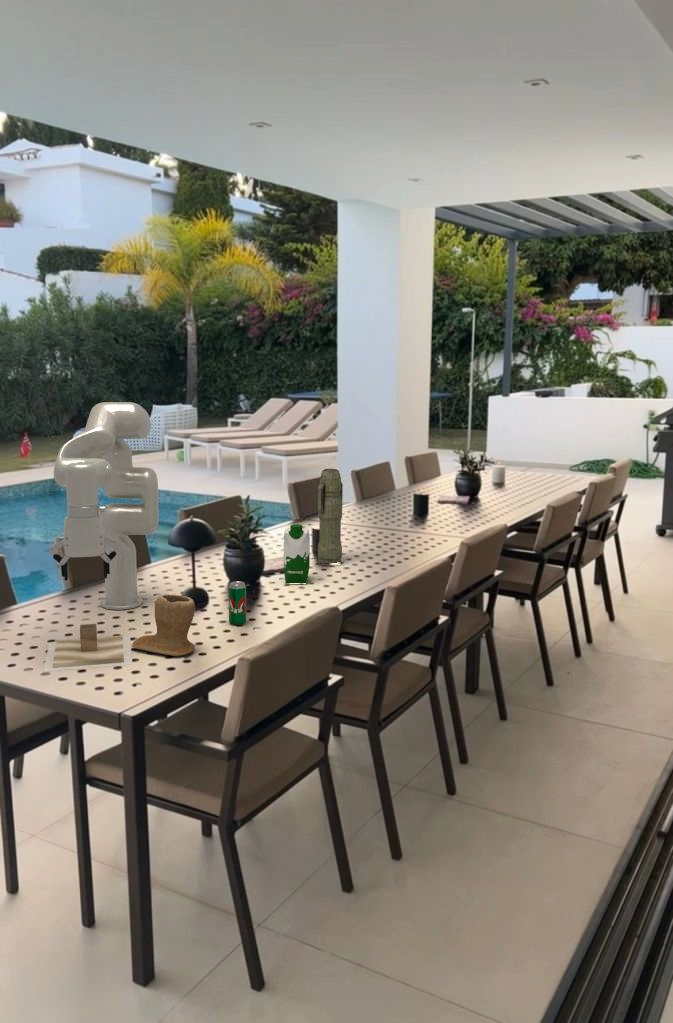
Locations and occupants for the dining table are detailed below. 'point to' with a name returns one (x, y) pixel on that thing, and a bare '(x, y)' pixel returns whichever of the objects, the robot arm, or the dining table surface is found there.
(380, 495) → the dining table surface
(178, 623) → the brown boot-shaped piece
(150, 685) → the dining table surface
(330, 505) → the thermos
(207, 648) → the dining table surface
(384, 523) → the dining table surface
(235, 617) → the soda can
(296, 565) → the milk carton
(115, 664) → the grey mat
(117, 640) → the birch lid
